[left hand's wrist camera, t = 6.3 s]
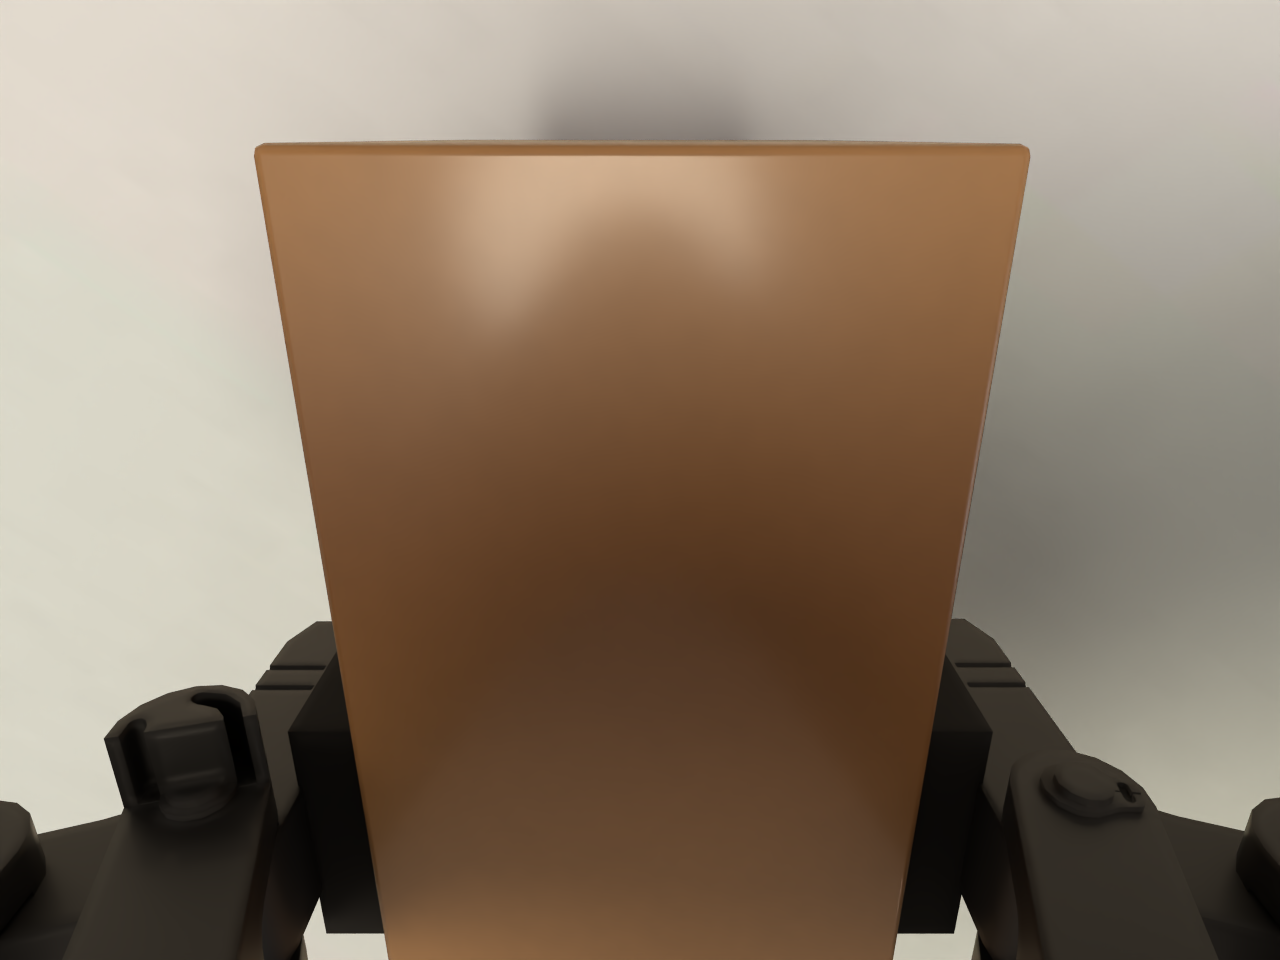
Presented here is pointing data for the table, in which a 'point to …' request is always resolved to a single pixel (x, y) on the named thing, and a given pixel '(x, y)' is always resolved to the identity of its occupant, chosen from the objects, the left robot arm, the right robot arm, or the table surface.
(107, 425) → the table surface
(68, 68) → the table surface
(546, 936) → the post
